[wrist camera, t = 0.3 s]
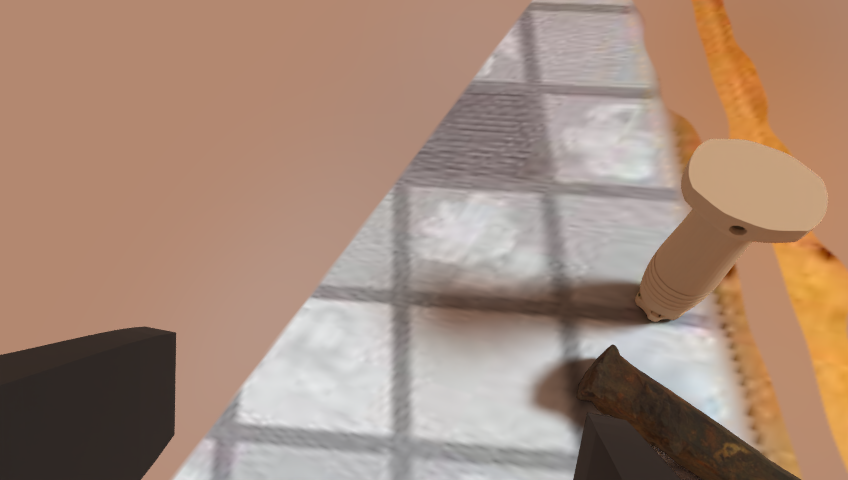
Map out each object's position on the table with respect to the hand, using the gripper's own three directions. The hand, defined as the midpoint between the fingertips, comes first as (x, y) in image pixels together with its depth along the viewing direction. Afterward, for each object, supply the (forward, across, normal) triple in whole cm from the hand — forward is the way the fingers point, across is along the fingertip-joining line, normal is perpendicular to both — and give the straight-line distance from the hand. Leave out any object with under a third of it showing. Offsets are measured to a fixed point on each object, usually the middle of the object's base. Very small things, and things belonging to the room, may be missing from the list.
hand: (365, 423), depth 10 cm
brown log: (+27, -16, +15) cm, 35 cm away
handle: (+34, -12, +7) cm, 37 cm away
